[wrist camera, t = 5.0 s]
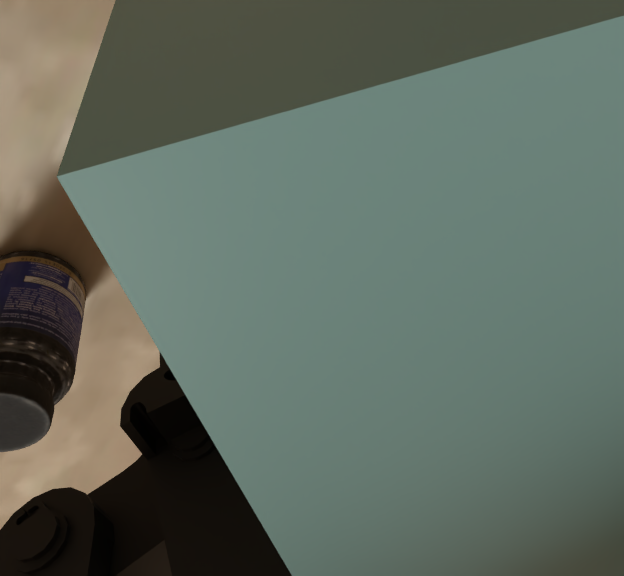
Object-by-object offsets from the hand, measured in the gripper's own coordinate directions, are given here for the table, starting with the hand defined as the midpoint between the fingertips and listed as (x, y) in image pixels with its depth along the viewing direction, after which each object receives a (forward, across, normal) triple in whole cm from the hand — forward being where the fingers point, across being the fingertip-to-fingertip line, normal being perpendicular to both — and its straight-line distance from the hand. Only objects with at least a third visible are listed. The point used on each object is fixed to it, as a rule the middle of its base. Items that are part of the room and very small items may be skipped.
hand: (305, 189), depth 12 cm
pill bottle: (+18, -16, -11) cm, 27 cm away
